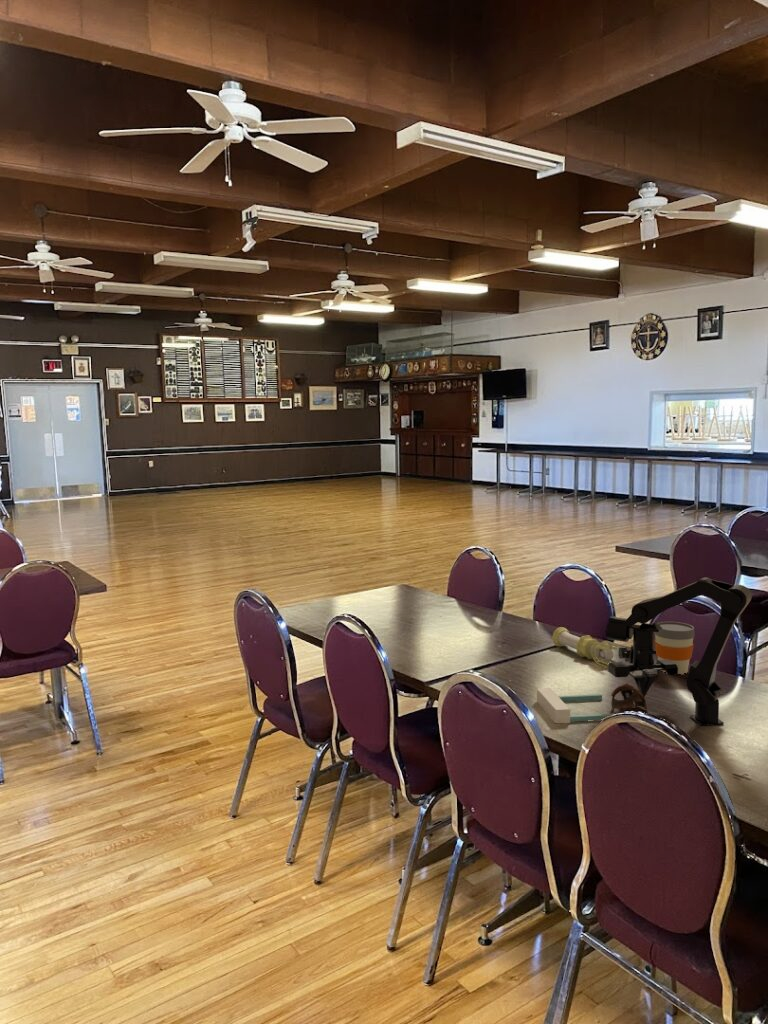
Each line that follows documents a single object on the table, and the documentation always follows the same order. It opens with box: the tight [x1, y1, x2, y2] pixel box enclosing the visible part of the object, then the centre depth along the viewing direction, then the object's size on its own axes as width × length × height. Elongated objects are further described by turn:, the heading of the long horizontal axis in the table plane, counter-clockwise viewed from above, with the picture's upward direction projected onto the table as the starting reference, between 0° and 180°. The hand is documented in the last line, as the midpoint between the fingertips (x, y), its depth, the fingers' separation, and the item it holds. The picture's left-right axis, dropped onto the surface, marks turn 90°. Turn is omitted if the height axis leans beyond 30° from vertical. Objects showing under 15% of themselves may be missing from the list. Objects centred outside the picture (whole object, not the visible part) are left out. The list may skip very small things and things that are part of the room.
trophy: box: [551, 626, 619, 669], centre depth 261 cm, size 8×8×30 cm
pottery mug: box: [610, 683, 649, 713], centre depth 211 cm, size 12×10×8 cm
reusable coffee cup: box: [654, 621, 696, 675], centre depth 244 cm, size 13×12×15 cm
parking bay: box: [536, 687, 615, 724], centre depth 211 cm, size 17×20×4 cm
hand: (642, 697), depth 213 cm, fingers closed
